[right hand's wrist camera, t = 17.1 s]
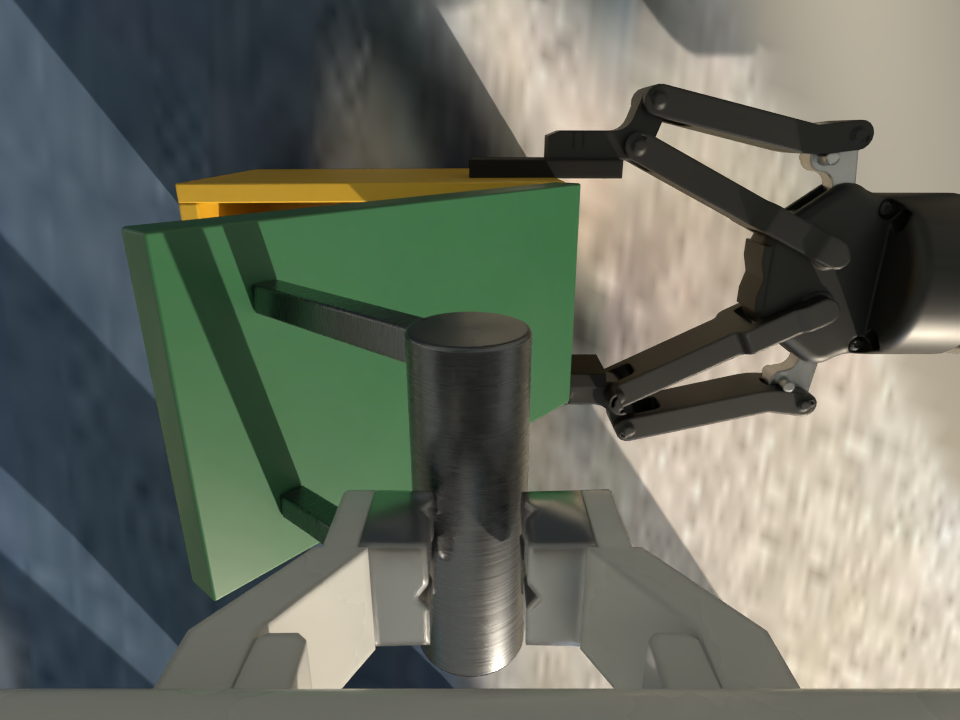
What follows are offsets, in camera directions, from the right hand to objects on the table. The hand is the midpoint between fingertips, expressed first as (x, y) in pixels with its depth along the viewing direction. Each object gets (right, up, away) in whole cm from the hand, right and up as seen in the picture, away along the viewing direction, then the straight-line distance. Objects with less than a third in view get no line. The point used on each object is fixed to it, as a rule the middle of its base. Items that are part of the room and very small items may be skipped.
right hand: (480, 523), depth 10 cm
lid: (-2, +3, +9) cm, 10 cm away
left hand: (0, +7, +18) cm, 20 cm away
